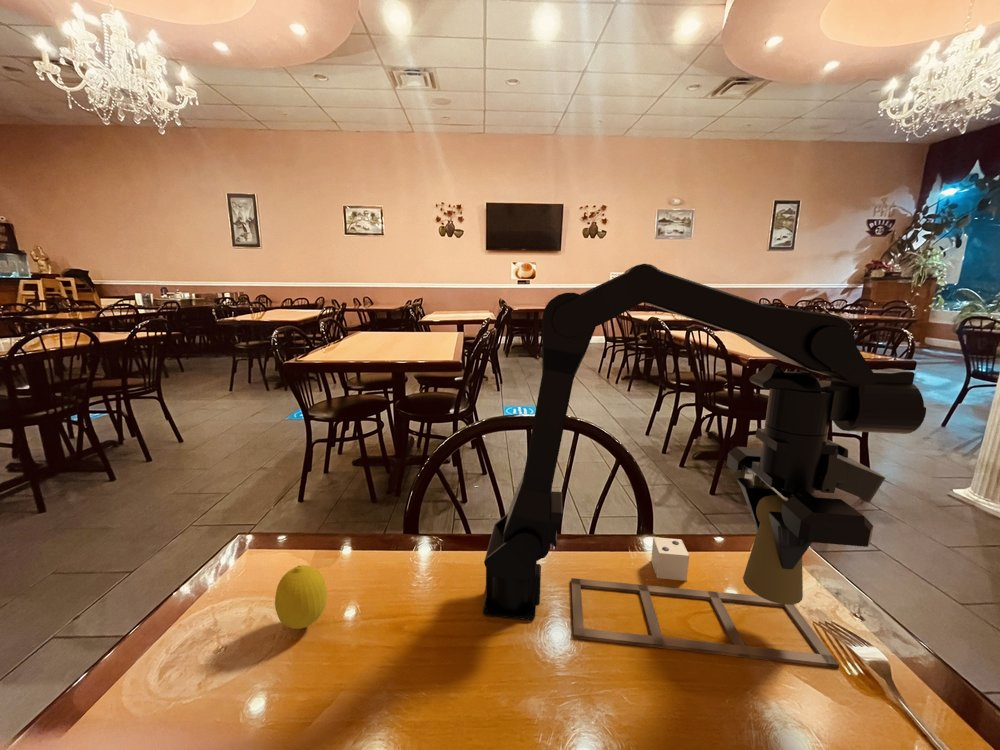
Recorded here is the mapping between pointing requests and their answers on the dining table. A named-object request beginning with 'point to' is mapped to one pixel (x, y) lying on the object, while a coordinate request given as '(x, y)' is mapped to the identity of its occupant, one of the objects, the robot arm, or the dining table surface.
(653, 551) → the die
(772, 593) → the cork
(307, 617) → the lemon
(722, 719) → the dining table surface
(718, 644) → the three-pane window frame
